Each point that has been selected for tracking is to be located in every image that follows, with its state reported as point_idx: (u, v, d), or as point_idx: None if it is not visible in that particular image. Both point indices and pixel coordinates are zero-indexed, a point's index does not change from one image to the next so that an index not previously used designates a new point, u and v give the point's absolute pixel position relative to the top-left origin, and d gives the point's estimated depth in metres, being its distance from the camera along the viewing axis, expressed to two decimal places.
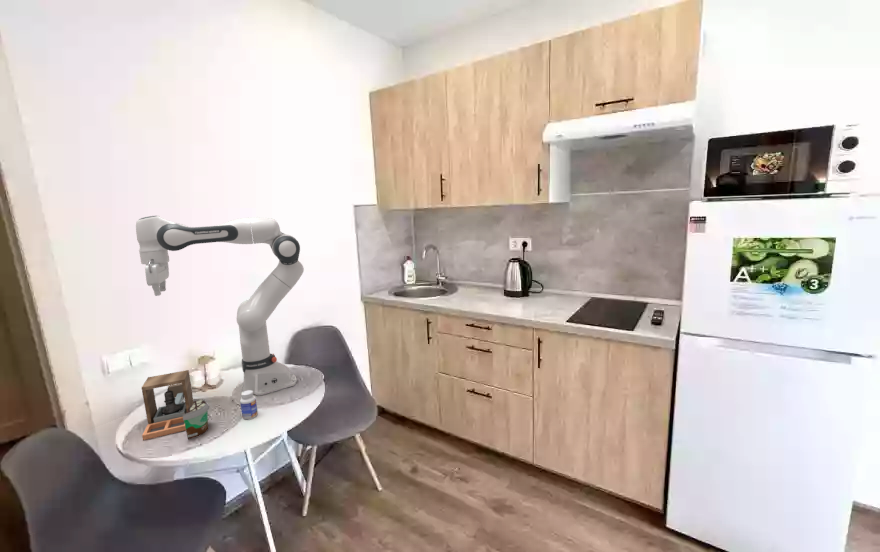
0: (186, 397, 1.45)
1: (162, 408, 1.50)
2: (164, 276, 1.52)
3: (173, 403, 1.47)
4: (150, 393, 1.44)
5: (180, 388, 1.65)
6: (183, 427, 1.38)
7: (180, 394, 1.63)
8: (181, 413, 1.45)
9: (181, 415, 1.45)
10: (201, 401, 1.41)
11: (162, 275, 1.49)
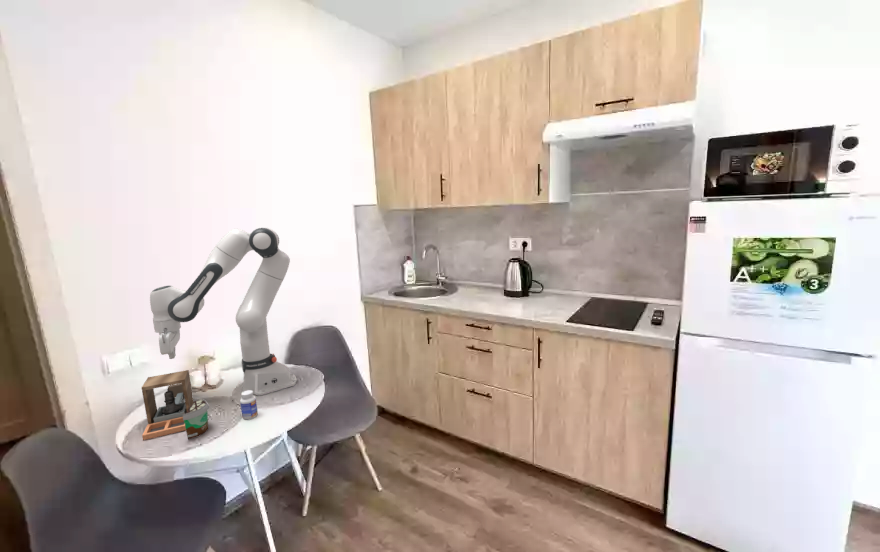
0: (186, 397, 1.45)
1: (162, 408, 1.50)
2: (176, 341, 1.60)
3: (173, 403, 1.47)
4: (150, 393, 1.44)
5: (180, 388, 1.65)
6: (183, 427, 1.38)
7: (180, 394, 1.63)
8: (181, 413, 1.45)
9: (181, 415, 1.45)
10: (201, 401, 1.41)
11: (174, 341, 1.57)
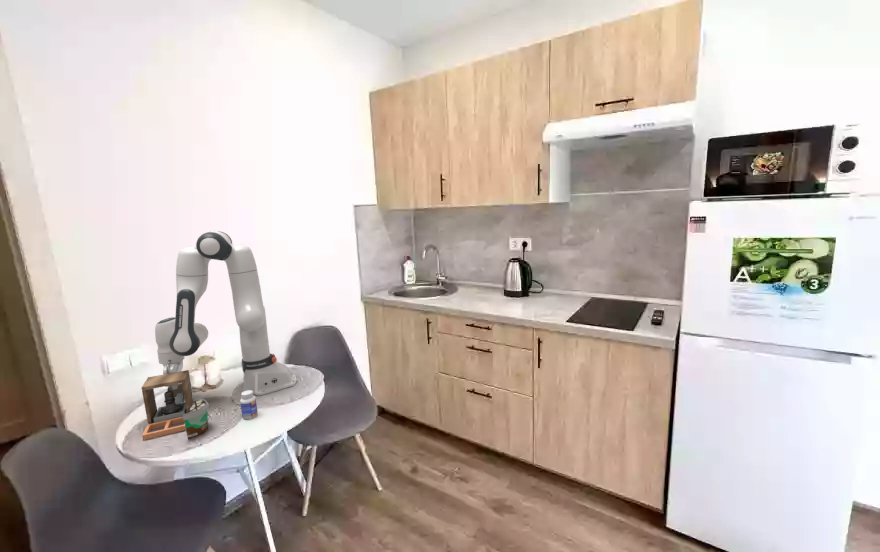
0: (186, 397, 1.45)
1: (162, 408, 1.50)
2: (179, 371, 1.62)
3: (173, 403, 1.47)
4: (150, 393, 1.44)
5: (180, 388, 1.65)
6: (183, 427, 1.38)
7: (180, 394, 1.63)
8: (181, 413, 1.45)
9: (181, 415, 1.45)
10: (201, 401, 1.41)
11: None
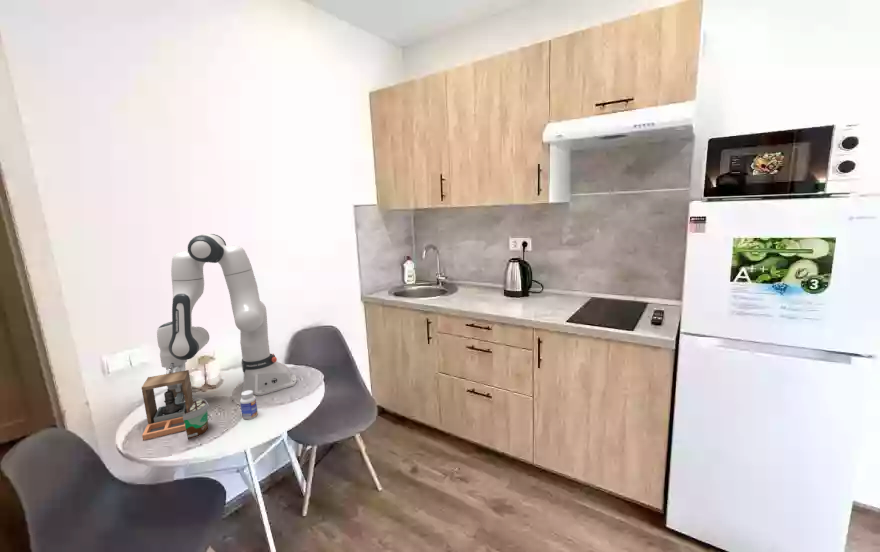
0: (186, 397, 1.45)
1: (162, 408, 1.50)
2: None
3: (173, 403, 1.47)
4: (150, 393, 1.44)
5: None
6: (183, 427, 1.38)
7: (180, 394, 1.64)
8: (181, 413, 1.45)
9: (181, 415, 1.45)
10: (201, 401, 1.41)
11: None
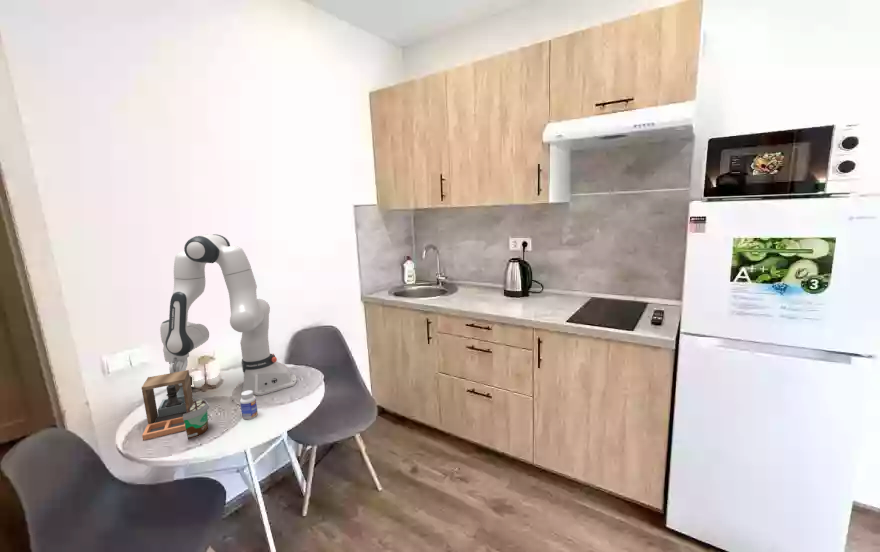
0: (186, 397, 1.45)
1: (166, 400, 1.56)
2: (184, 368, 1.70)
3: (175, 397, 1.52)
4: (150, 393, 1.44)
5: None
6: (183, 427, 1.38)
7: None
8: (184, 405, 1.51)
9: (184, 407, 1.51)
10: (201, 401, 1.41)
11: (183, 369, 1.68)
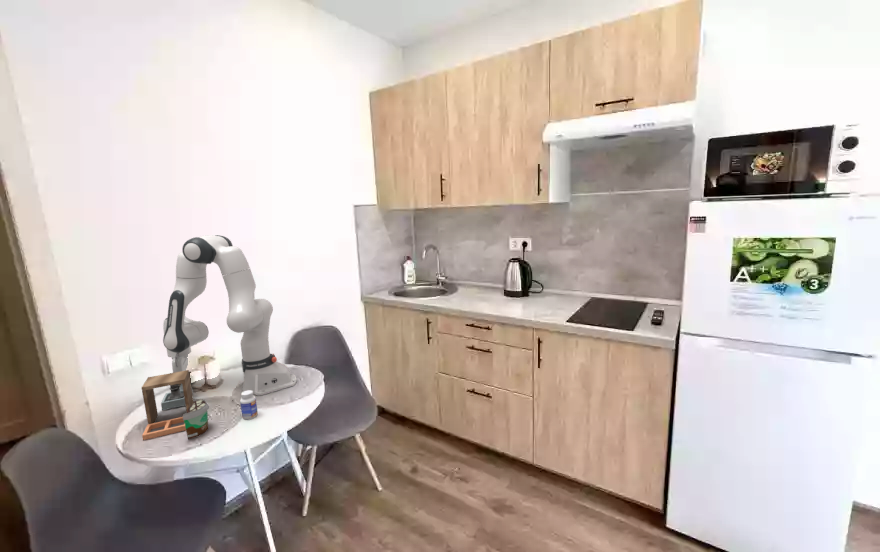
0: (186, 397, 1.45)
1: (168, 394, 1.61)
2: (186, 364, 1.76)
3: (178, 390, 1.58)
4: (150, 393, 1.44)
5: None
6: (183, 427, 1.38)
7: None
8: None
9: None
10: (201, 401, 1.41)
11: (185, 364, 1.73)
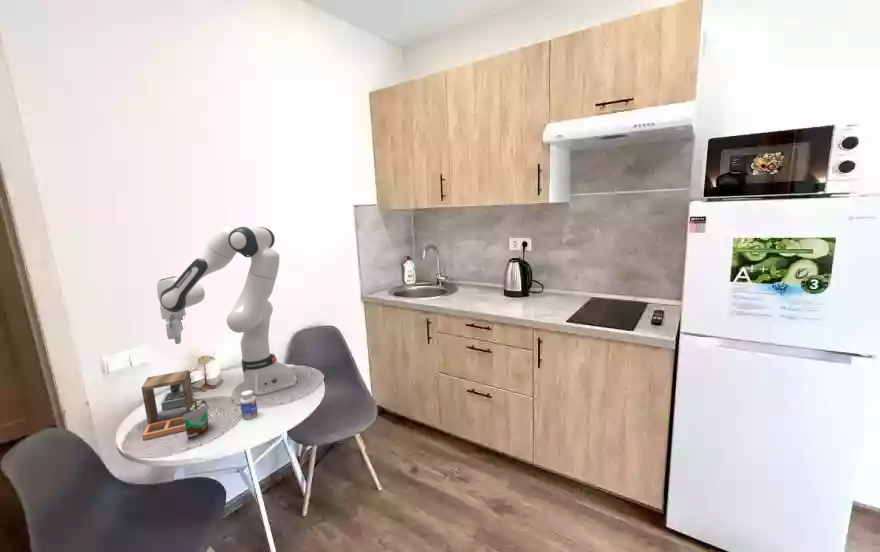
0: (186, 397, 1.45)
1: (169, 394, 1.62)
2: (181, 327, 1.73)
3: (178, 390, 1.58)
4: (150, 393, 1.44)
5: None
6: (183, 427, 1.38)
7: None
8: None
9: None
10: (201, 401, 1.41)
11: (180, 327, 1.70)
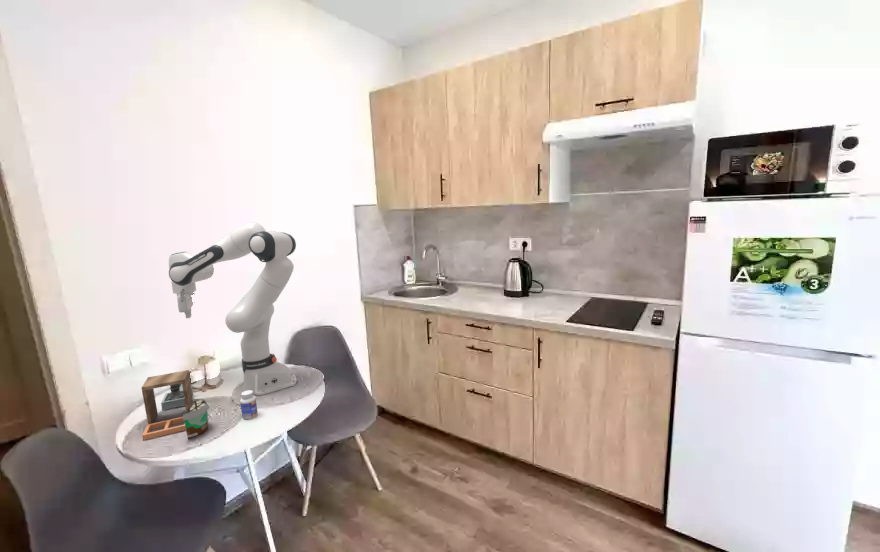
0: (186, 397, 1.45)
1: (169, 394, 1.62)
2: (191, 302, 1.76)
3: (178, 390, 1.58)
4: (150, 393, 1.44)
5: None
6: (183, 427, 1.38)
7: None
8: None
9: None
10: (201, 401, 1.41)
11: (190, 302, 1.73)
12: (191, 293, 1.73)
